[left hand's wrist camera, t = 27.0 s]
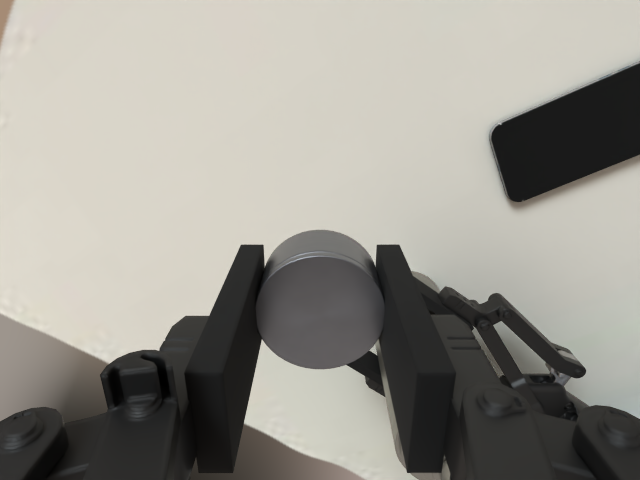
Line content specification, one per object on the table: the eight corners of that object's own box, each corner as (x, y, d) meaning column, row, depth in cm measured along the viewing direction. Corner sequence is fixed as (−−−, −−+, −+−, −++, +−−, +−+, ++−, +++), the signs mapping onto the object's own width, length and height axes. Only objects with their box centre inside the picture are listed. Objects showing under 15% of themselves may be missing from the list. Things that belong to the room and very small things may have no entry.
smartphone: (487, 128, 35) (681, 44, 32) (485, 127, 35) (675, 44, 33) (511, 206, 37) (693, 134, 35) (508, 204, 38) (686, 132, 35)
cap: (369, 334, 16) (377, 373, 14) (261, 327, 15) (252, 365, 13) (384, 233, 14) (395, 261, 12) (265, 224, 14) (256, 250, 12)
